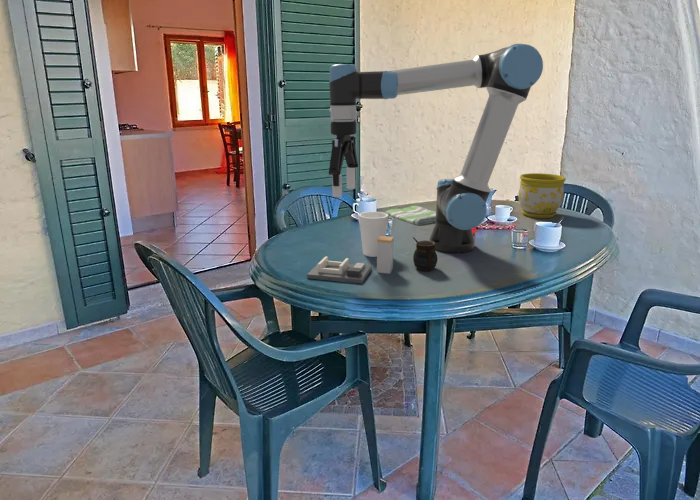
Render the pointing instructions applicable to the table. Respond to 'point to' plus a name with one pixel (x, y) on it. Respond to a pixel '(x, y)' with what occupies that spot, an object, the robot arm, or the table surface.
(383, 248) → the plug
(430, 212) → the dish towel
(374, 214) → the foam cup
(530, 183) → the flowerpot
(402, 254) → the table surface
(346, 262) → the board
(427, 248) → the mate gourd
